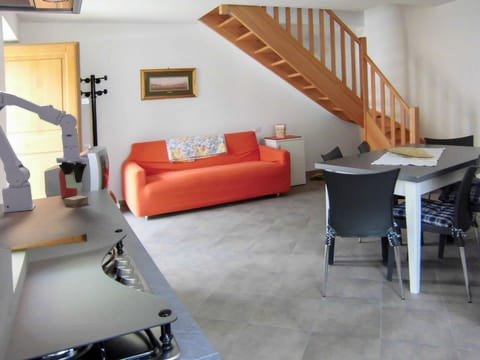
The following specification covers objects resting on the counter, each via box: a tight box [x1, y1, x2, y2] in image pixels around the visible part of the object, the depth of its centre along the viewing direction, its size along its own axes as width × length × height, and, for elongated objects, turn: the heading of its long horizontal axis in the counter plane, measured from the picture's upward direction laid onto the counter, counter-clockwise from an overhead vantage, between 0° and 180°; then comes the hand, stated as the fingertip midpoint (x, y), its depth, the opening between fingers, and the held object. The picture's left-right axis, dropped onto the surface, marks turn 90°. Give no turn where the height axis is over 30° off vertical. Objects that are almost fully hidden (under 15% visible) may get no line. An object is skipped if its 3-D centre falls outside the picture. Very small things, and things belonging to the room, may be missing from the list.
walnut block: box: [63, 195, 89, 208], centre depth 163 cm, size 6×6×3 cm
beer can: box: [58, 168, 79, 199], centre depth 177 cm, size 7×7×12 cm
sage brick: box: [65, 172, 83, 189], centre depth 161 cm, size 4×4×6 cm
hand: (74, 182), depth 162 cm, fingers closed on sage brick, 4 cm apart
